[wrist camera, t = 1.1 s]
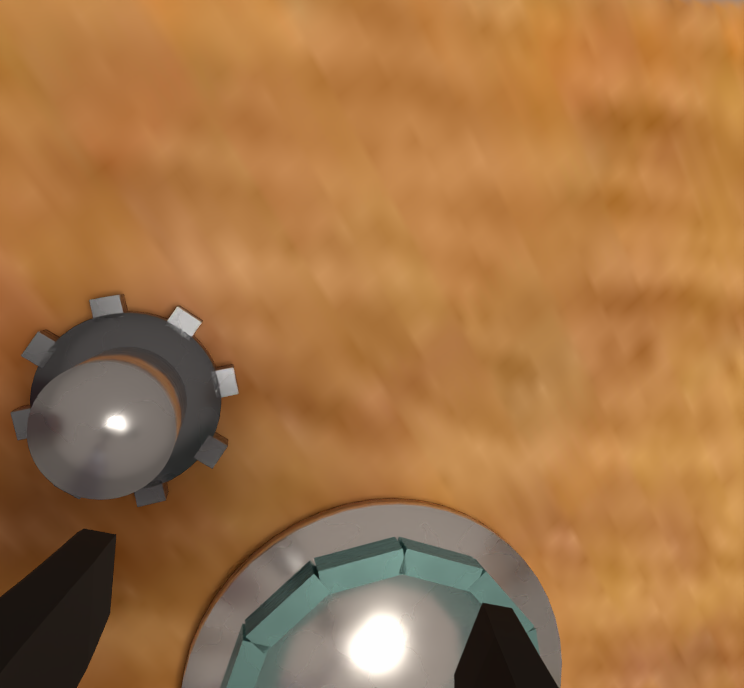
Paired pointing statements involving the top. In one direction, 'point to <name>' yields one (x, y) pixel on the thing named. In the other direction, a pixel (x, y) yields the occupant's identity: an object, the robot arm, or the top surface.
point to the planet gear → (123, 403)
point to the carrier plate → (366, 602)
